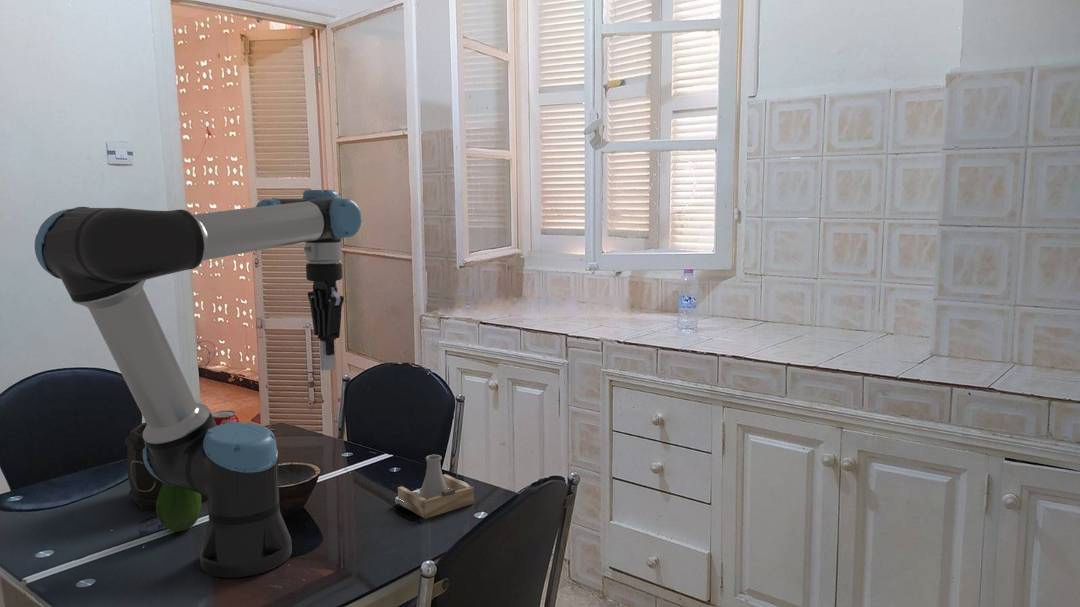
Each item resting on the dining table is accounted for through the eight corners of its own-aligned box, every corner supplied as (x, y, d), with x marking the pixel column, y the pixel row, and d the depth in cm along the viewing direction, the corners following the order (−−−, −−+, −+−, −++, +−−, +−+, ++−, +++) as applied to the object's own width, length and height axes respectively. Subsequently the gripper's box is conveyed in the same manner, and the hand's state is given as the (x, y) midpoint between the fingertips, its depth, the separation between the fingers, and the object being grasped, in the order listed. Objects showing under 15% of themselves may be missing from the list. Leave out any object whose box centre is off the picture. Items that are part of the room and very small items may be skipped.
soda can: (215, 457, 188) (212, 410, 186) (244, 455, 189) (242, 409, 187) (205, 466, 181) (202, 418, 180) (236, 465, 182) (233, 417, 180)
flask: (434, 493, 164) (432, 449, 163) (459, 501, 160) (458, 455, 159) (409, 504, 158) (408, 458, 157) (435, 512, 154) (434, 465, 153)
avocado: (208, 520, 150) (204, 462, 149) (195, 537, 143) (191, 476, 141) (166, 522, 149) (162, 463, 148) (150, 539, 142) (146, 478, 140)
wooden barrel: (211, 510, 155) (206, 436, 153) (117, 516, 152) (111, 440, 150) (232, 479, 173) (228, 412, 171) (149, 483, 170) (144, 416, 168)
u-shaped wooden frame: (474, 503, 158) (474, 483, 158) (425, 519, 151) (424, 498, 150) (446, 489, 166) (445, 470, 166) (398, 503, 159) (397, 483, 158)
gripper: (294, 261, 165) (299, 366, 168) (320, 264, 156) (325, 376, 159) (326, 259, 170) (330, 362, 173) (353, 262, 160) (357, 371, 164)
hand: (328, 369), depth 166 cm, fingers closed
